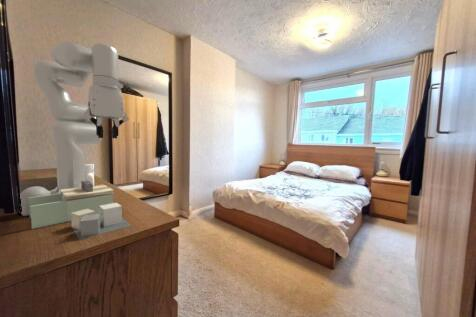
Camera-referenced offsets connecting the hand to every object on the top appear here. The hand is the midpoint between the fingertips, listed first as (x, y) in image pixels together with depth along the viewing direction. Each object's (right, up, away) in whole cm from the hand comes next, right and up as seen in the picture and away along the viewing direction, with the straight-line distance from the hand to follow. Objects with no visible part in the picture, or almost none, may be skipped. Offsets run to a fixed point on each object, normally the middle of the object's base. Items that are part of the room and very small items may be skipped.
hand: (107, 137), depth 71 cm
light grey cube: (+7, -27, -18) cm, 33 cm away
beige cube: (+2, -26, -14) cm, 30 cm away
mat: (+7, -27, -13) cm, 31 cm away
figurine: (-12, -25, +9) cm, 29 cm away
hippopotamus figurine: (-20, -25, -2) cm, 32 cm away
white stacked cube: (+8, -26, -11) cm, 30 cm away
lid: (-5, -19, -3) cm, 20 cm away
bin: (-7, -26, -5) cm, 27 cm away
